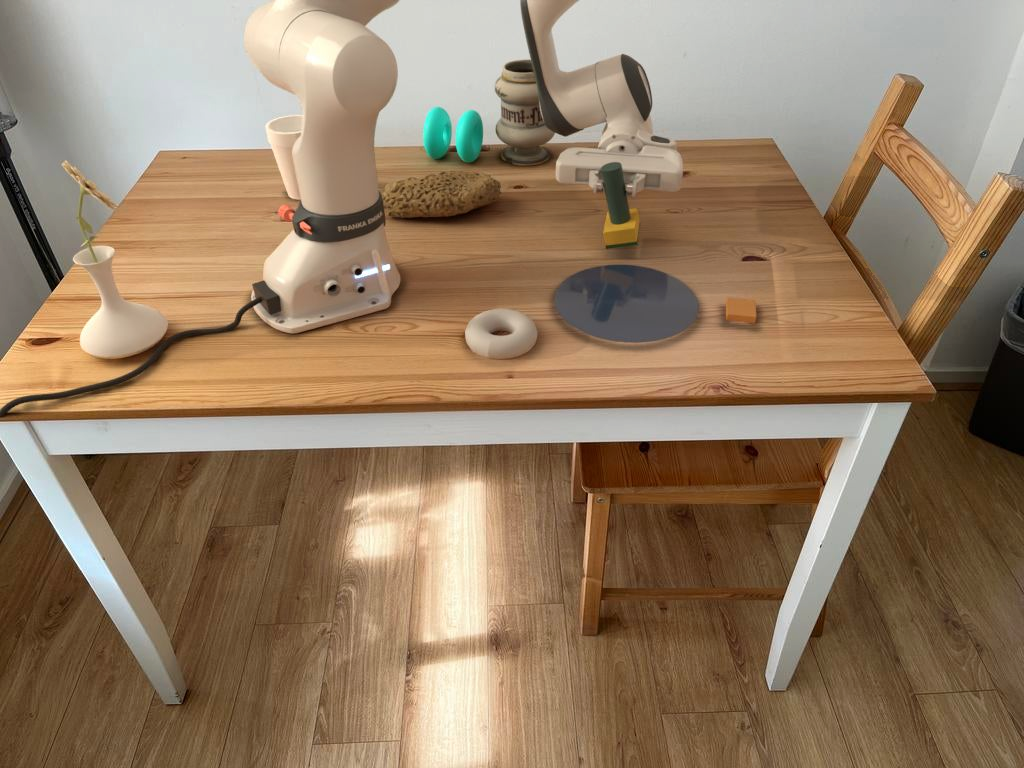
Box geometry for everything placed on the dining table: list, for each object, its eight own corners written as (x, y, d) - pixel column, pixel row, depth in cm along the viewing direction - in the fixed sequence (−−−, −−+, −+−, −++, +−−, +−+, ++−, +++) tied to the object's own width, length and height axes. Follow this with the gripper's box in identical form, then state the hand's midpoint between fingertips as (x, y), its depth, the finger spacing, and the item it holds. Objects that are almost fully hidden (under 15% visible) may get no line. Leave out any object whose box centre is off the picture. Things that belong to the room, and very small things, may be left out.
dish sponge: (637, 245, 120) (625, 173, 113) (606, 249, 122) (592, 178, 115) (640, 224, 126) (629, 154, 119) (610, 228, 127) (597, 159, 120)
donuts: (470, 171, 152) (468, 120, 146) (423, 165, 154) (418, 116, 148) (485, 152, 159) (484, 103, 153) (440, 147, 161) (437, 99, 155)
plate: (624, 367, 102) (625, 361, 101) (525, 300, 115) (525, 295, 114) (727, 312, 112) (729, 306, 111) (625, 256, 125) (626, 251, 124)
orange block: (725, 325, 109) (727, 313, 108) (724, 308, 113) (727, 297, 111) (754, 328, 109) (756, 316, 107) (752, 311, 112) (755, 299, 111)
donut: (537, 324, 110) (468, 322, 110) (538, 304, 108) (467, 302, 108) (537, 367, 102) (462, 365, 102) (538, 346, 100) (461, 344, 100)
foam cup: (320, 178, 150) (308, 111, 142) (337, 195, 144) (326, 126, 136) (272, 189, 146) (258, 121, 138) (288, 207, 140) (273, 137, 132)
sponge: (385, 233, 134) (495, 216, 130) (373, 188, 131) (485, 170, 127) (405, 212, 146) (507, 196, 141) (395, 171, 142) (499, 153, 138)
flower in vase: (169, 358, 104) (107, 184, 89) (78, 373, 102) (-2, 198, 86) (173, 307, 114) (118, 143, 99) (91, 320, 112) (20, 154, 96)
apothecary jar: (484, 158, 156) (480, 67, 145) (519, 140, 164) (519, 52, 153) (531, 173, 151) (532, 79, 139) (566, 154, 158) (569, 62, 147)
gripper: (561, 132, 128) (548, 166, 118) (686, 141, 125) (683, 176, 114) (560, 168, 132) (547, 204, 122) (681, 177, 129) (678, 214, 118)
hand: (614, 190), depth 118 cm, fingers closed on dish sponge, 4 cm apart
